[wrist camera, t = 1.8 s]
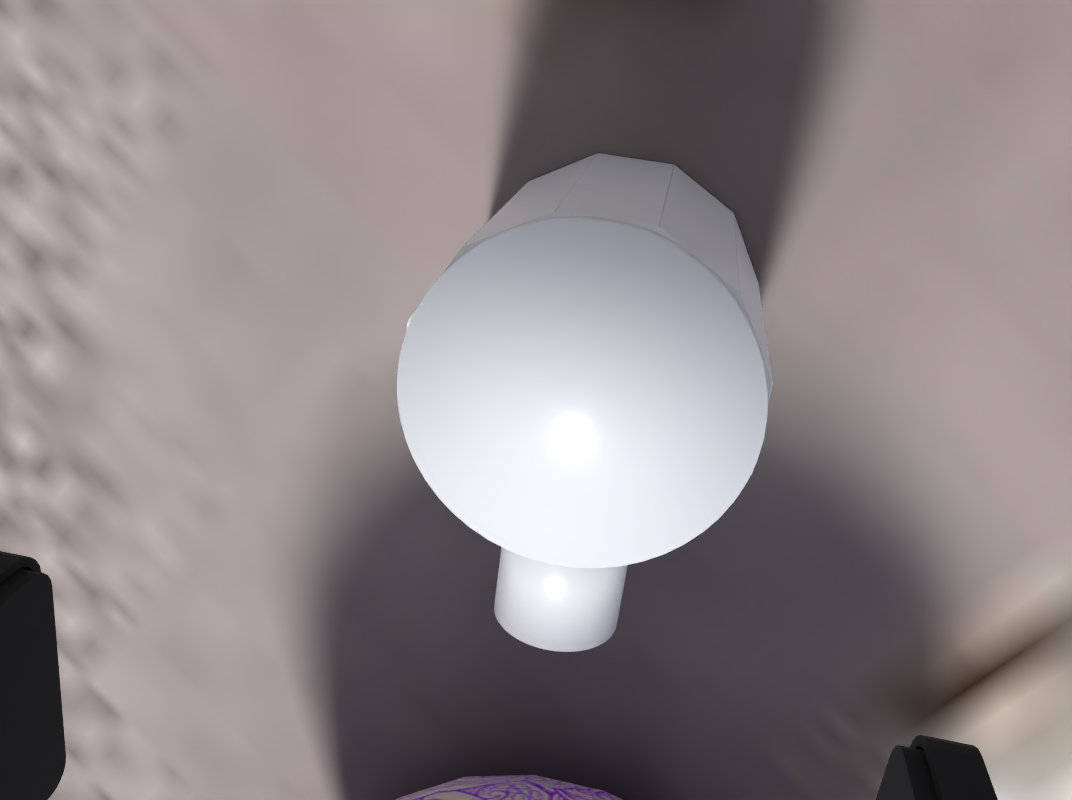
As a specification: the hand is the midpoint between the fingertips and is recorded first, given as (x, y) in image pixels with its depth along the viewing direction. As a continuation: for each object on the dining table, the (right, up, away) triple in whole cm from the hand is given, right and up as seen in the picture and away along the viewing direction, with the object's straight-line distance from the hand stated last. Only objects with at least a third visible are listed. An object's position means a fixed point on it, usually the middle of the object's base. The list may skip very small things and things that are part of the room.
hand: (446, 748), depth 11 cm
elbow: (+3, +5, +17) cm, 18 cm away
